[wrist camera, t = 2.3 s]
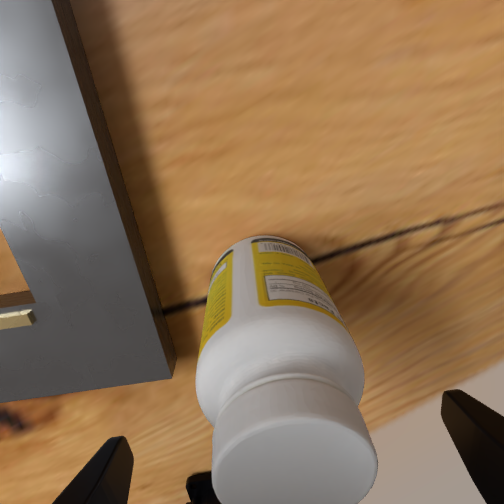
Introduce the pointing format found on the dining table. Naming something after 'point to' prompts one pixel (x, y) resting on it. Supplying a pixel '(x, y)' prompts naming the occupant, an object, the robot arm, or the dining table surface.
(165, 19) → the dining table surface
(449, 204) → the dining table surface
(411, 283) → the dining table surface
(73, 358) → the keyhole plate
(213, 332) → the supplement bottle
